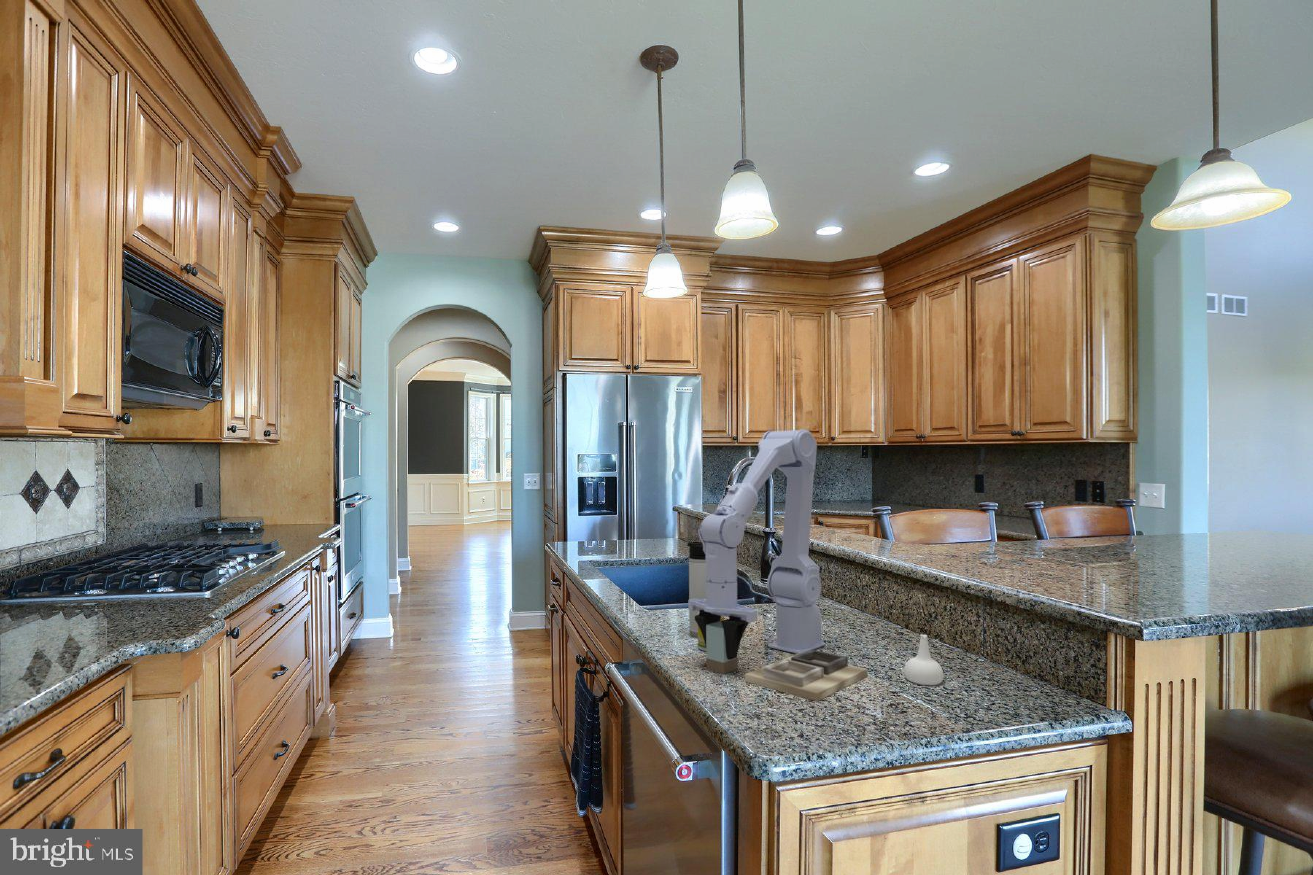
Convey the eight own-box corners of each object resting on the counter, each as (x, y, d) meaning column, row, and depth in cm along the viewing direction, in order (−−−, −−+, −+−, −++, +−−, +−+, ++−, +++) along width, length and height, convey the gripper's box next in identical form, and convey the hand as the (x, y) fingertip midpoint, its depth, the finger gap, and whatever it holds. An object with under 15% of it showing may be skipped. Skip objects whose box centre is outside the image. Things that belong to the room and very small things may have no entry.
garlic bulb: (904, 687, 112) (903, 640, 112) (903, 672, 118) (903, 628, 118) (944, 691, 110) (944, 644, 110) (942, 676, 116) (941, 631, 116)
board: (798, 659, 126) (798, 645, 126) (867, 675, 117) (867, 660, 117) (745, 681, 114) (744, 665, 114) (817, 701, 104) (817, 683, 104)
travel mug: (686, 631, 148) (685, 541, 148) (715, 630, 148) (714, 540, 149) (689, 638, 141) (689, 544, 142) (720, 637, 142) (719, 544, 143)
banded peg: (720, 664, 124) (720, 621, 124) (737, 668, 121) (737, 624, 121) (706, 669, 121) (706, 624, 121) (723, 674, 118) (723, 628, 118)
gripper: (677, 578, 123) (677, 652, 123) (740, 588, 113) (740, 669, 113) (701, 573, 129) (702, 644, 128) (763, 583, 118) (764, 660, 118)
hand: (721, 655), depth 121 cm, fingers closed on banded peg, 4 cm apart
